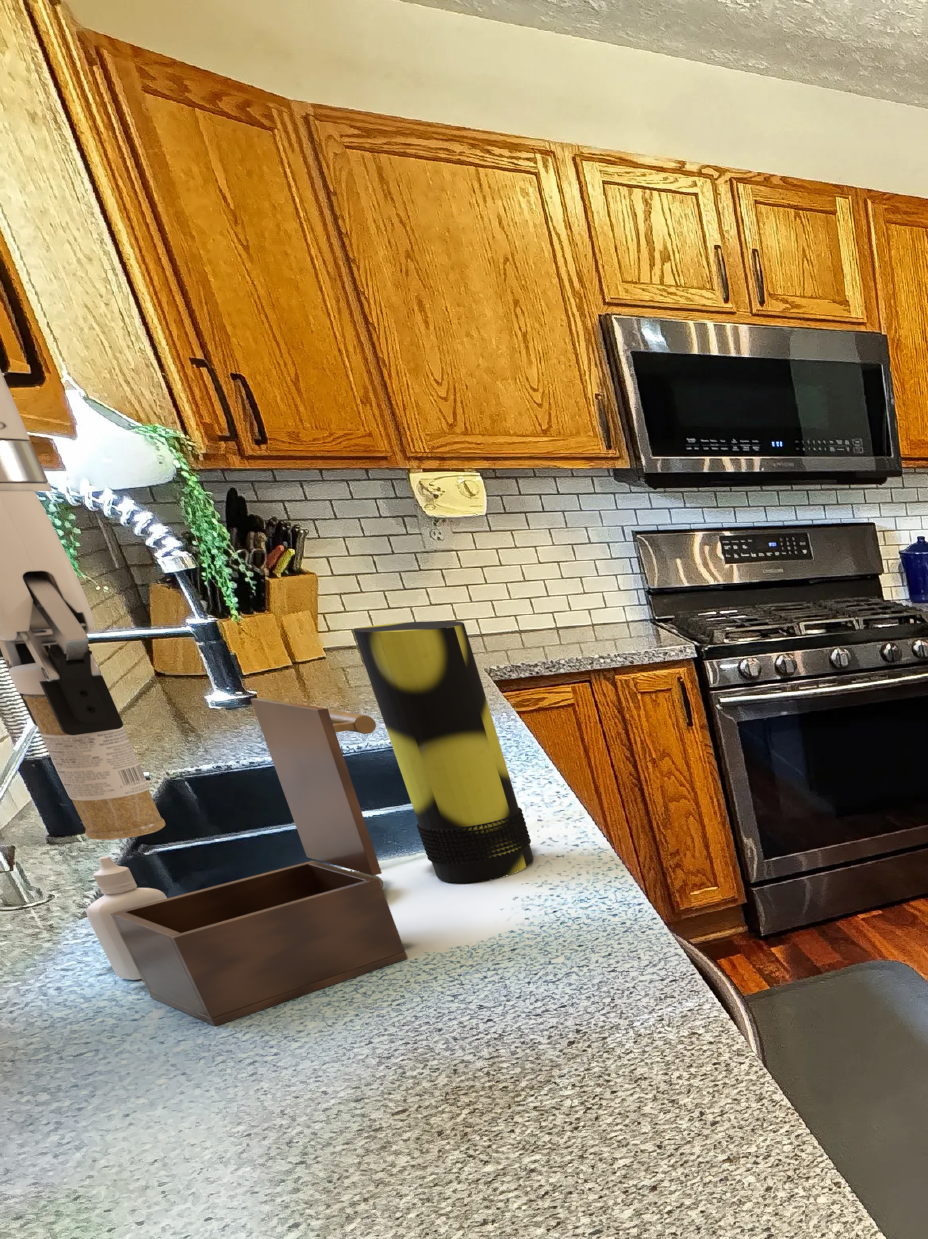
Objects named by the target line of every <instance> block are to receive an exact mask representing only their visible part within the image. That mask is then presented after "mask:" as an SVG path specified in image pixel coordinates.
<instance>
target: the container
mask: <svg viewBox="0 0 928 1239" xmlns="http://www.w3.org/2000/svg"><path fill="white" fill-rule="evenodd" d="M352 633H353V636H354V637H355V640H356V644H357V646H358V650H359V652H360V656H361V658H362V661H363V664H364V667H365V670H366V673H367V676H368V679H369V682H370V685H371V687H372V691H373V694H374V696H375V700H376V703H377V705H378V708H379V712H380V714H381V717H382V720H383V723H384V726H385V730H386V732H387V735H388V737H389V738H388V739H389V740H390V743H391V747H392V749H393V753H394V755H395V758H396V762H397V765H398V768H399V771H400V774H401V776H402V779H403V782H404V785H405V788H406V792H407V794H408V797H409V800H410V804H411V805H412V809H413V812H414V814H415V818H416V820H417V824H416V828H417V830H418V832H417V833H418V834H419V837H420V841H421V842H422V846H423V849H424V851H425V855H426V858H427V860H428V861H429V862H431V865H432V867H433V871H434V873H435V875H436V877H437V879H438V880H440V881H443V882H446V883H450V884H451V883H452V884H469V883H470V884H471V883H479V882H487V881H491V880H490V879H492V880H497V879H501V878H504V877H503V876H505V877H507V876H506V875H508V876H512V875H514V873H515V872H517V871H519V872H521V871H523V870H522V869H524V868H526V867H527V868H529V867H530V866H531V865H532V864H533V863H534V859H535V858H534V855H533V851H532V848H531V844H532V839H531V838H530V837H531V836H530V834H529V830H528V826H527V823H526V821H525V817H524V813H523V809H522V808H521V807H519V803H518V800H517V797H516V794H515V790H514V787H513V784H512V781H511V776H510V773H509V771H508V767H507V764H506V759H505V756H504V753H503V750H502V747H501V744H500V740H499V736H498V733H497V730H496V725H495V723H494V720H493V717H492V713H491V709H490V706H489V703H488V700H487V696H486V693H485V689H484V686H483V683H482V680H481V676H480V673H479V669H478V665H477V663H476V659H475V655H474V652H473V648H472V645H471V642H470V639H469V635H468V632H467V629H466V625H465V623H464V622H463V621H457V620H432V621H431V620H428V621H423V620H421V621H405V622H396V623H394V622H393V623H383V624H374V625H368V626H362V627H361V626H360V627H356V628H354V629H353V630H352ZM530 864H531V865H530ZM529 865H530V866H529ZM528 866H529V867H528ZM527 868H526V869H527ZM524 870H525V869H524ZM517 873H518V872H517ZM515 874H516V873H515ZM500 877H501V878H500Z"/></svg>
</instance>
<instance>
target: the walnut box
mask: <svg viewBox="0 0 928 1239" xmlns="http://www.w3.org/2000/svg"><path fill="white" fill-rule="evenodd" d="M352 871H353V870H352ZM352 871H351V870H349V869H346V868H342V867H339V866H335V865H331V864H328V863H324V862H321V861H317V860H309V861H306V862H302V863H298V864H294V865H291V866H290V865H289V866H286V867H283V868H278V869H274V870H270V871H267V872H263V873H260V874H256V875H252V876H248V877H244V878H240V879H236V880H233V881H229V882H225V883H221V884H217V885H213V886H209V887H206V888H202V889H198V890H194V891H191V892H187V893H182V894H179V895H176V896H172V897H171V896H170V897H167V899H163V900H160V901H156V902H152V903H148V904H144V905H140V906H137V907H133V908H129V909H125V910H121V911H117V912H114V913H110V914H111V917H112V919H113V921H114V923H115V925H116V927H117V929H118V931H119V933H120V935H121V937H122V939H123V941H124V943H125V945H126V947H127V949H128V951H129V953H130V955H131V957H132V959H133V961H134V963H135V965H136V968H137V970H138V972H139V974H140V976H141V978H142V979H141V981H142V982H143V985H144V986H145V988H146V990H147V991H148V994H149V996H150V998H151V999H153V1000H156V1001H158V1002H160V1003H162V1004H164V1005H166V1006H169V1007H171V1008H173V1009H175V1010H178V1011H180V1012H182V1013H184V1014H187V1015H189V1016H192V1017H194V1018H196V1019H198V1020H200V1021H203V1022H204V1023H206V1024H209V1025H211V1026H214V1027H217V1026H219V1025H222V1024H223V1025H224V1024H225V1023H228V1022H231V1021H234V1020H237V1019H239V1018H243V1017H246V1016H248V1015H252V1014H253V1013H256V1012H257V1013H258V1012H260V1011H262V1010H265V1009H269V1008H270V1007H273V1006H276V1005H279V1004H282V1003H285V1002H288V1001H291V1000H293V999H296V998H299V997H302V996H306V995H308V994H311V993H313V992H316V991H320V990H322V989H325V988H327V987H331V986H333V985H336V984H340V983H341V982H345V981H347V980H351V979H353V978H356V977H359V976H362V975H364V974H368V973H370V972H374V971H376V970H379V969H381V968H384V967H387V966H391V965H393V964H396V963H398V962H402V961H405V960H407V959H409V958H408V954H407V953H406V949H405V947H404V944H403V940H402V939H401V936H400V932H399V930H398V928H397V925H396V922H395V919H394V917H393V913H392V911H391V909H390V906H389V903H388V900H387V897H386V896H385V892H384V890H383V888H382V887H381V884H380V881H379V879H376V878H373V877H369V876H366V875H362V874H359V873H355V872H356V871H354V872H352Z"/></svg>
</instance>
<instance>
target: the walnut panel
mask: <svg viewBox="0 0 928 1239" xmlns="http://www.w3.org/2000/svg"><path fill="white" fill-rule="evenodd" d="M250 702H251V704H252V707H253V710H254V713H255V715H256V718H257V722H258V724H259V727H260V730H261V732H262V735H263V739H264V740H265V743H266V747H267V749H268V753H269V755H270V758H271V760H272V763H273V765H274V768H275V772H276V774H277V777H278V780H279V783H280V786H281V789H282V791H283V794H284V797H285V800H286V802H287V805H288V808H289V811H290V814H291V817H292V819H293V822H294V825H295V828H296V830H297V831H296V832H297V833H298V836H299V839H300V842H301V845H302V848H303V851H304V853H305V856H306V858H309V859H312V860H314V861H318V862H321V863H325V864H328V865H332V866H335V867H339V868H343V869H346V870H350V871H351V870H352V871H354V872H361V873H365V874H369V875H372V876H374V875H376V876H378V875H381V874H382V870H381V867H380V863H379V860H378V857H377V854H376V851H375V848H374V845H373V842H372V839H371V836H370V833H369V830H368V827H367V823H366V821H365V818H364V815H363V812H362V809H361V805H360V803H359V802H360V801H359V799H358V797H357V794H356V791H355V787H354V784H353V781H352V778H351V775H350V772H349V769H348V766H347V764H346V760H345V757H344V754H343V751H342V748H341V744H340V741H339V738H338V735H337V733H342V732H352V733H356V734H357V733H358V734H362V735H363V734H364V735H368V734H369V735H370V734H371V733H373V732H374V731H375V730H376V729H377V723H376V721H375V720H374V718H373V717H371V716H369V715H365V714H359V713H352V712H345V711H339V710H334V709H333V710H331V709H330V710H329V709H328V708H327V707H322V706H321V707H319V706H315V705H314V706H313V705H309V704H301V703H295V702H288V701H283V700H277V699H271V698H264V697H255V698H254V697H253V698H250Z"/></svg>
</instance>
